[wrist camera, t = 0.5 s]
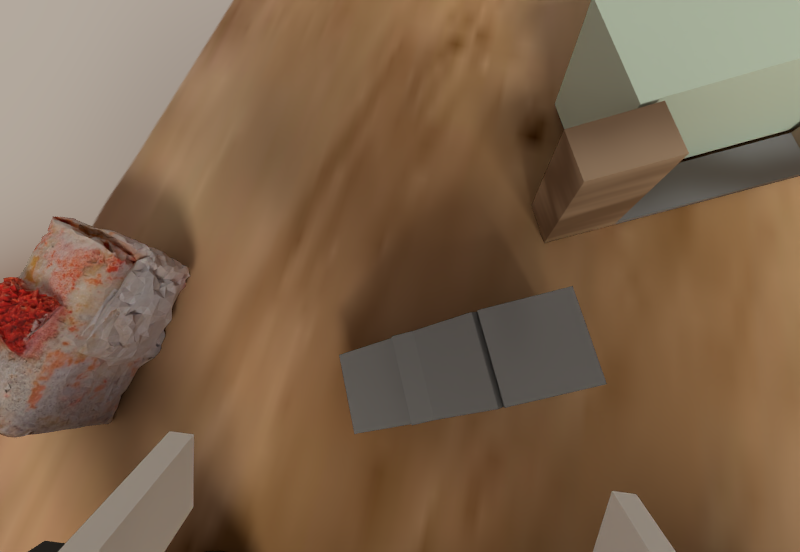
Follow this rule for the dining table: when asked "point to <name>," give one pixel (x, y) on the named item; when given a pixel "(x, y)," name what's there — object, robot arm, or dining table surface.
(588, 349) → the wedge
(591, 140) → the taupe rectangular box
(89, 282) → the food item
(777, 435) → the dining table surface
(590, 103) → the pale green box
